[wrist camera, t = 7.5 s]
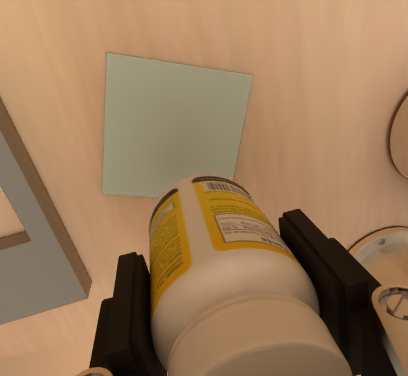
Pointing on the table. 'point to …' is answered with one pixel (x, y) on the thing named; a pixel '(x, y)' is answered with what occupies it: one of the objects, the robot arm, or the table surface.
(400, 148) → the cylinder vase
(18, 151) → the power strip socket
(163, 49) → the table surface
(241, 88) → the rubber mat
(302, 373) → the supplement bottle
